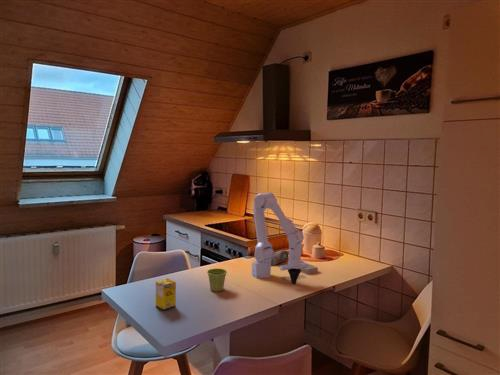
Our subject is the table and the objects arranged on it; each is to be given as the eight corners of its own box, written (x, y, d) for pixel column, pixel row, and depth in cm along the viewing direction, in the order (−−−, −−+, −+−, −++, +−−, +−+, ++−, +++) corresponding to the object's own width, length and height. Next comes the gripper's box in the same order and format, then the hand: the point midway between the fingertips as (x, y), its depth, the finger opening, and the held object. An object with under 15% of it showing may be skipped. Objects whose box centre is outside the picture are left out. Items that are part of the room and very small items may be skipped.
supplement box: (175, 307, 157) (176, 281, 156) (163, 311, 152) (164, 285, 151) (167, 302, 161) (167, 277, 160) (155, 306, 156) (155, 281, 155)
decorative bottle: (275, 268, 212) (275, 256, 211) (263, 265, 216) (263, 254, 216) (295, 257, 234) (295, 247, 233) (284, 255, 238) (284, 245, 237)
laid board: (284, 282, 190) (284, 279, 190) (280, 279, 194) (280, 276, 194) (306, 279, 195) (306, 277, 195) (302, 276, 199) (302, 274, 199)
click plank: (291, 287, 184) (292, 285, 183) (285, 282, 190) (285, 279, 190) (313, 284, 188) (313, 282, 188) (305, 279, 195) (305, 277, 194)
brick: (318, 274, 204) (319, 266, 203) (307, 277, 199) (307, 268, 199) (297, 266, 217) (298, 258, 217) (286, 269, 213) (287, 260, 212)
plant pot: (208, 293, 172) (208, 275, 171) (205, 286, 181) (205, 268, 180) (228, 292, 175) (228, 274, 174) (224, 285, 184) (224, 267, 183)
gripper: (285, 259, 177) (284, 287, 179) (311, 257, 183) (310, 284, 184) (278, 255, 184) (277, 282, 185) (304, 253, 189) (303, 279, 191)
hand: (293, 283), depth 185 cm, fingers closed
